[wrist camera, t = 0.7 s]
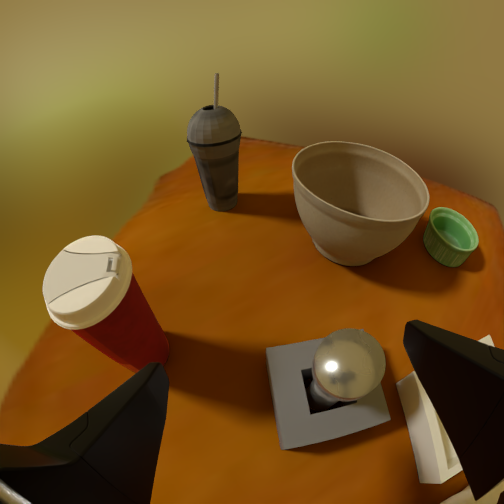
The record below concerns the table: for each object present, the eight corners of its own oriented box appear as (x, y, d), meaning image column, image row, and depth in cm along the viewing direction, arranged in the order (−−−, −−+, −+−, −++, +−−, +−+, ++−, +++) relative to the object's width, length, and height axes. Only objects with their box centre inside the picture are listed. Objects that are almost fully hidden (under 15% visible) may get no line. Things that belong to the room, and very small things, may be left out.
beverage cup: (201, 190, 44) (181, 73, 29) (245, 186, 44) (236, 67, 30) (198, 219, 40) (171, 85, 25) (247, 215, 40) (238, 77, 25)
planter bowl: (403, 300, 29) (443, 236, 21) (275, 274, 32) (277, 201, 24) (396, 214, 39) (415, 156, 31) (298, 195, 43) (303, 132, 34)
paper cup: (177, 315, 29) (131, 221, 19) (182, 381, 24) (119, 312, 14) (115, 324, 28) (50, 241, 18) (114, 386, 23) (26, 323, 13)
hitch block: (373, 425, 20) (390, 419, 17) (280, 449, 19) (283, 449, 16) (351, 345, 26) (363, 328, 23) (265, 362, 25) (265, 348, 22)
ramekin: (469, 246, 34) (480, 227, 31) (460, 281, 30) (475, 261, 27) (427, 219, 38) (436, 199, 35) (412, 249, 34) (423, 227, 31)
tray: (495, 431, 15) (517, 423, 12) (419, 482, 14) (441, 483, 11) (470, 349, 23) (489, 334, 20) (395, 383, 22) (413, 371, 19)
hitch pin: (348, 411, 21) (394, 384, 13) (300, 423, 21) (324, 406, 13) (337, 369, 24) (372, 321, 16) (292, 379, 24) (307, 336, 16)
